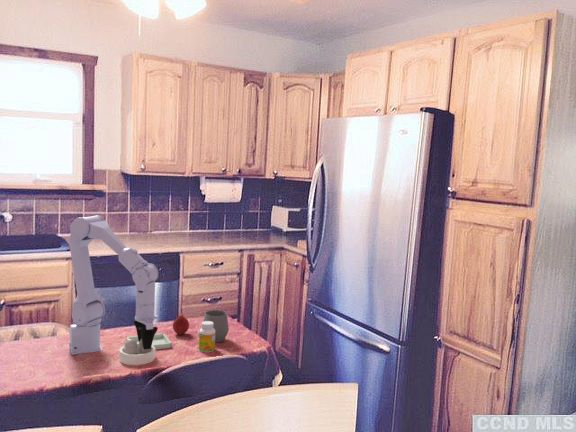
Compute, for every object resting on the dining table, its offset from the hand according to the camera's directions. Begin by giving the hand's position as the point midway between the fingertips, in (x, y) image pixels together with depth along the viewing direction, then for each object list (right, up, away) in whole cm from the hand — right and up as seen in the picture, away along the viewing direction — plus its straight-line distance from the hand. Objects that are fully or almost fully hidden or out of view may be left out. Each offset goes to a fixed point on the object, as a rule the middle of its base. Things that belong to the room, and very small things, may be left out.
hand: (144, 344), depth 172 cm
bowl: (-2, -5, 0) cm, 5 cm away
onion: (+7, -3, +24) cm, 25 cm away
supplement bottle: (+18, -5, +10) cm, 21 cm away
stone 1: (-4, -4, -2) cm, 6 cm away
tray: (-2, -3, +12) cm, 13 cm away
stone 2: (0, -4, +1) cm, 4 cm away
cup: (+20, -4, +21) cm, 29 cm away
